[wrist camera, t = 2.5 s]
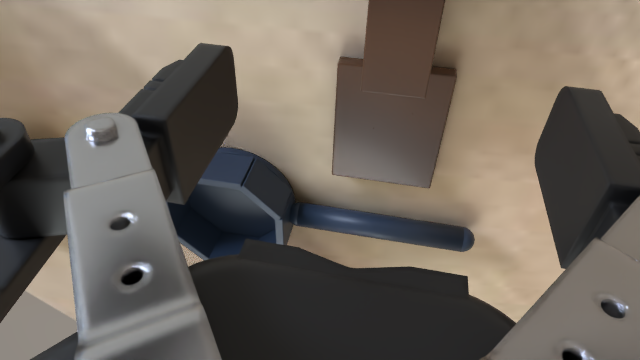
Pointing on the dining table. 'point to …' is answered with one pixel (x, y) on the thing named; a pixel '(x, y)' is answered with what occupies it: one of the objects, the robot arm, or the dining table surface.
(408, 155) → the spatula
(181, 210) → the scoop
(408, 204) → the dining table surface
